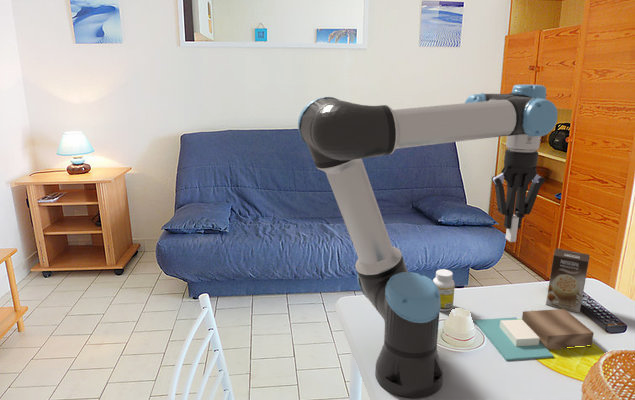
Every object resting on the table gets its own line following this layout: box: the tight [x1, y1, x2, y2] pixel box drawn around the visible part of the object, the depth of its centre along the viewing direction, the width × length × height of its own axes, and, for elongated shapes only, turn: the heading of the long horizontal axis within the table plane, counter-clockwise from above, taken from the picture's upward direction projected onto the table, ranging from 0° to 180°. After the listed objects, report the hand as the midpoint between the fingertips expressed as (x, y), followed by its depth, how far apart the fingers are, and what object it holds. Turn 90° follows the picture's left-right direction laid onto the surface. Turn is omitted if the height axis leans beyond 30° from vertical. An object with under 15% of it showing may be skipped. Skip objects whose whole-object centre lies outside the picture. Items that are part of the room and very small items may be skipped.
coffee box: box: [545, 248, 590, 314], centre depth 137 cm, size 9×6×16 cm
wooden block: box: [521, 308, 595, 351], centre depth 124 cm, size 12×12×4 cm
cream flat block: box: [500, 318, 540, 346], centre depth 123 cm, size 6×9×2 cm, turn 5°
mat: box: [474, 317, 554, 362], centre depth 123 cm, size 12×18×1 cm, turn 6°
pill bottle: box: [432, 268, 456, 312], centre depth 137 cm, size 6×6×11 cm
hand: (510, 239), depth 122 cm, fingers closed
